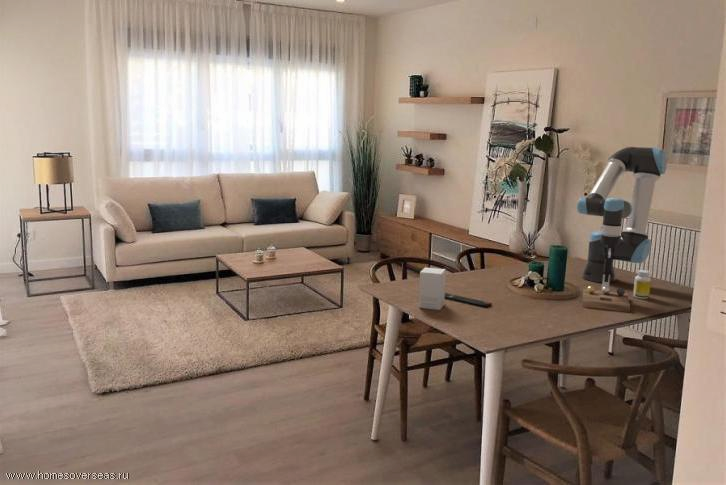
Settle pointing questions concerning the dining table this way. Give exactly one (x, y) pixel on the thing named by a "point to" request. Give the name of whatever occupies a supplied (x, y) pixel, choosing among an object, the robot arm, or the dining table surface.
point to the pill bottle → (642, 285)
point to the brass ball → (590, 289)
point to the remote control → (467, 300)
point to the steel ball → (605, 290)
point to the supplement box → (432, 288)
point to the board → (606, 300)
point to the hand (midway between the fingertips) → (605, 288)
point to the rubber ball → (620, 291)
